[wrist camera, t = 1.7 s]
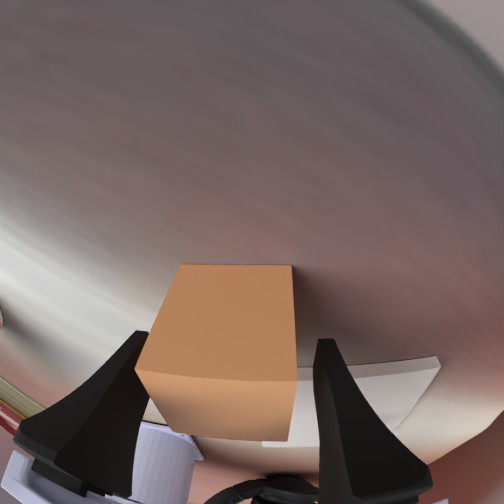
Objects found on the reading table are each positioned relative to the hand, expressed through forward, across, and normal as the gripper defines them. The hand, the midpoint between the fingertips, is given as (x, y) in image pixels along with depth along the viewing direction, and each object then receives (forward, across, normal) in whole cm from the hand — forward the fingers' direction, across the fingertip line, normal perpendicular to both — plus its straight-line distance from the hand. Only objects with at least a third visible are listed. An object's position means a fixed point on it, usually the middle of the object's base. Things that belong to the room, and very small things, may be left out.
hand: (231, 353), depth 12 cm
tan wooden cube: (+3, 0, 0) cm, 3 cm away
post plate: (+3, -7, +11) cm, 13 cm away
